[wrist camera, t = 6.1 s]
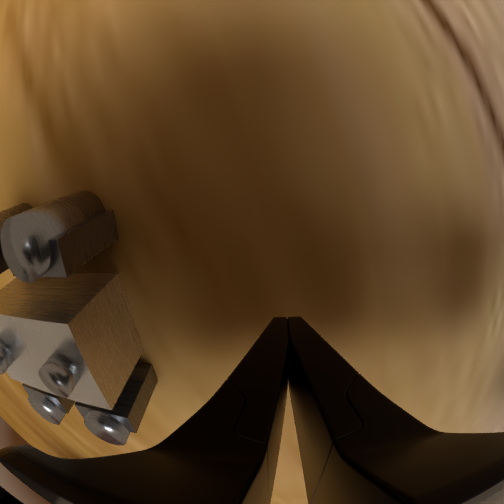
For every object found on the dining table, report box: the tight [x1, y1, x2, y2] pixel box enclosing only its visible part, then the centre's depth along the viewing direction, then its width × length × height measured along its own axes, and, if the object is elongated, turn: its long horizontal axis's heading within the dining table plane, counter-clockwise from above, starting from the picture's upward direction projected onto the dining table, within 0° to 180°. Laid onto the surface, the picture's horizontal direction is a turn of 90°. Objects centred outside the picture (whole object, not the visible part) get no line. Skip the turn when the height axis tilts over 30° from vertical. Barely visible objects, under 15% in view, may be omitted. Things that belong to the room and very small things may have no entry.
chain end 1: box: [0, 203, 75, 425], centre depth 8 cm, size 2×9×3 cm, turn 3°
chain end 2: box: [1, 191, 157, 445], centre depth 8 cm, size 2×9×3 cm, turn 3°
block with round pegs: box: [0, 272, 144, 410], centre depth 8 cm, size 6×4×4 cm, turn 95°
